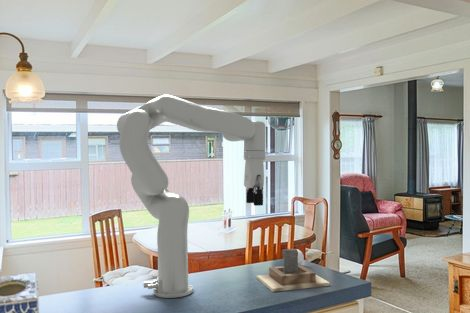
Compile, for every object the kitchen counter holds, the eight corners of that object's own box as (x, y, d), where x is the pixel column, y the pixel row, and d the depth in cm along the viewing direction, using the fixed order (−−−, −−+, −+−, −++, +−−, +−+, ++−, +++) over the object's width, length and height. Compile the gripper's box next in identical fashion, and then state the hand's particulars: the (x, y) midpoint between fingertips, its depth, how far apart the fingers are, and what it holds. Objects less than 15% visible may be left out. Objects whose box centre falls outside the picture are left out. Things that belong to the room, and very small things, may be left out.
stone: (299, 280, 144) (299, 250, 144) (282, 279, 145) (282, 250, 145) (298, 277, 148) (298, 248, 148) (282, 277, 148) (282, 248, 148)
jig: (272, 291, 136) (272, 279, 136) (256, 278, 151) (256, 267, 151) (329, 285, 141) (329, 273, 141) (308, 273, 156) (308, 262, 156)
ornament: (301, 268, 163) (288, 253, 163) (291, 271, 169) (279, 256, 169) (310, 257, 167) (298, 242, 167) (300, 260, 173) (288, 246, 173)
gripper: (238, 156, 160) (238, 202, 160) (251, 155, 143) (250, 206, 143) (257, 156, 162) (257, 201, 162) (272, 155, 145) (272, 206, 145)
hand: (254, 204), depth 152 cm, fingers open, 9 cm apart
